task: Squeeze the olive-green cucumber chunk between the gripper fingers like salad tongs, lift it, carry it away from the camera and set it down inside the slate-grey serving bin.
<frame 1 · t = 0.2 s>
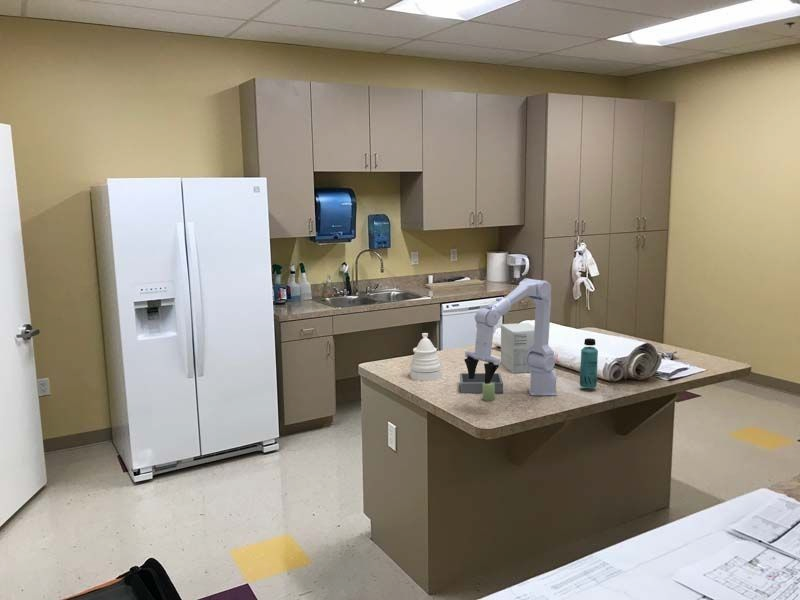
hand: (479, 381, 229), 10 cm above the counter, tool pointing down, fingers open, 7 cm apart
cucumber chunk: (488, 399, 242), on the counter
honey pot: (425, 377, 273), on the counter
supplement box: (520, 368, 284), on the counter
beverage bottle: (588, 390, 251), on the counter
serving bin: (480, 388, 255), on the counter
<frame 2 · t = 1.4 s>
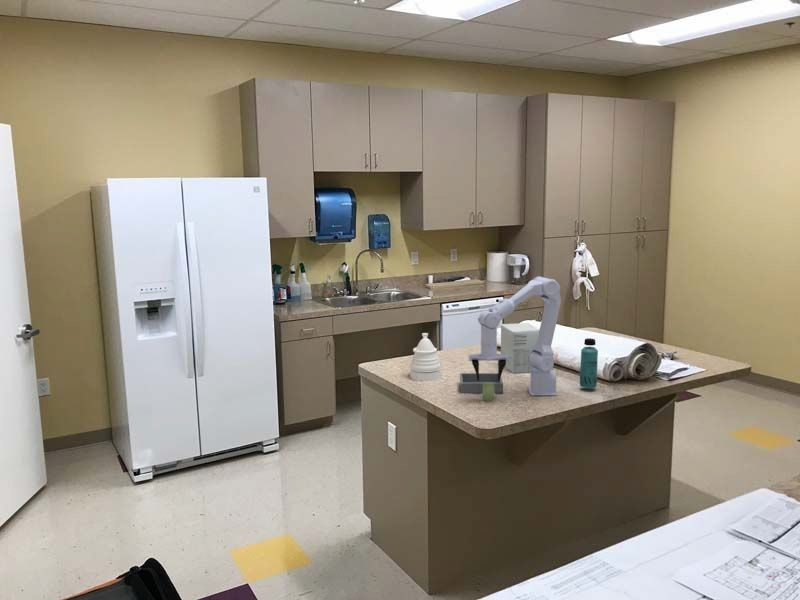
hand: (488, 379, 240), 8 cm above the counter, tool pointing down, fingers open, 7 cm apart
nothing on the counter moved.
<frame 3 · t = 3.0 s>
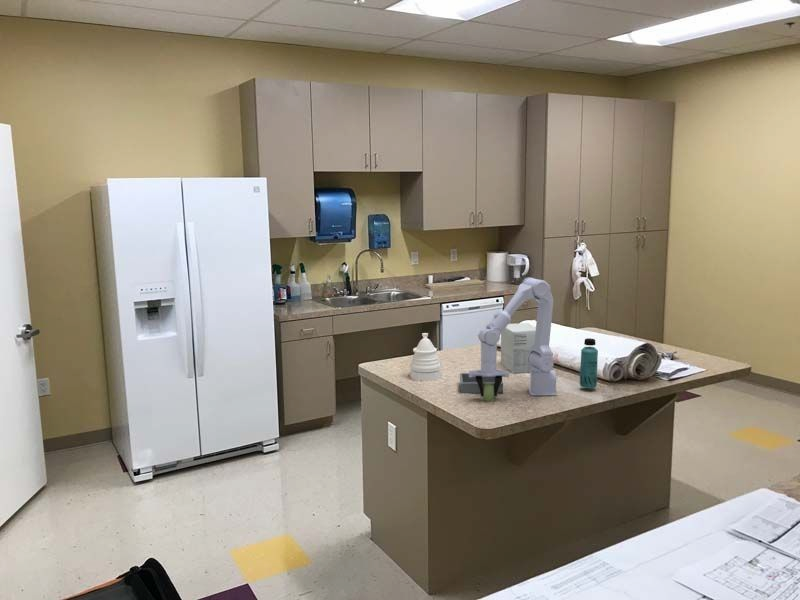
hand: (488, 395, 241), 1 cm above the counter, tool pointing down, fingers closed on cucumber chunk, 4 cm apart
cucumber chunk: (488, 399, 242), on the counter, touching gripper
everything else where it was.
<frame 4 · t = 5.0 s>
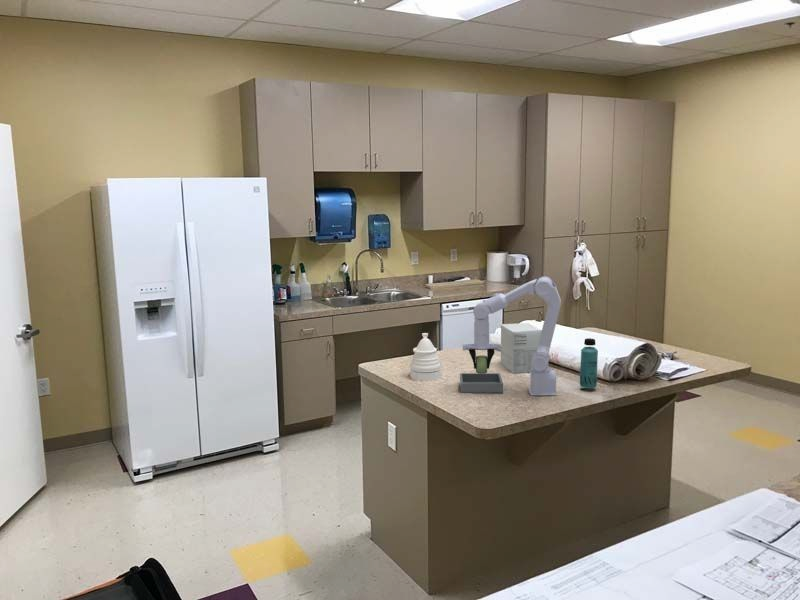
hand: (481, 368, 253), 8 cm above the counter, tool pointing down, fingers closed on cucumber chunk, 4 cm apart
cucumber chunk: (481, 371, 253), point 7 cm above the counter, touching gripper
everything else where it was.
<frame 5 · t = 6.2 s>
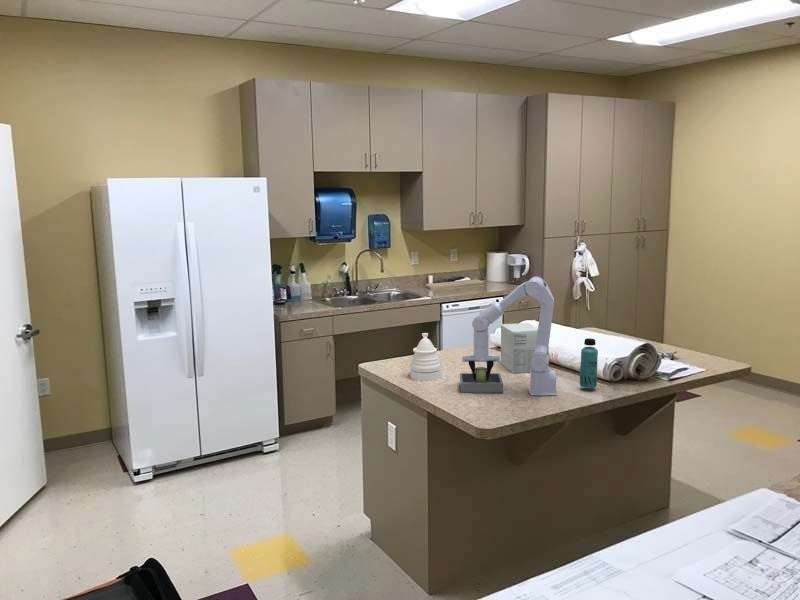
hand: (480, 379, 255), 3 cm above the counter, tool pointing down, fingers closed on cucumber chunk, 4 cm apart
cucumber chunk: (480, 383, 255), point 2 cm above the counter, touching gripper
everything else where it was.
when the fingers open (3 cm above the counter, at t = 6.9 s): cucumber chunk drops 1 cm, resting on serving bin.
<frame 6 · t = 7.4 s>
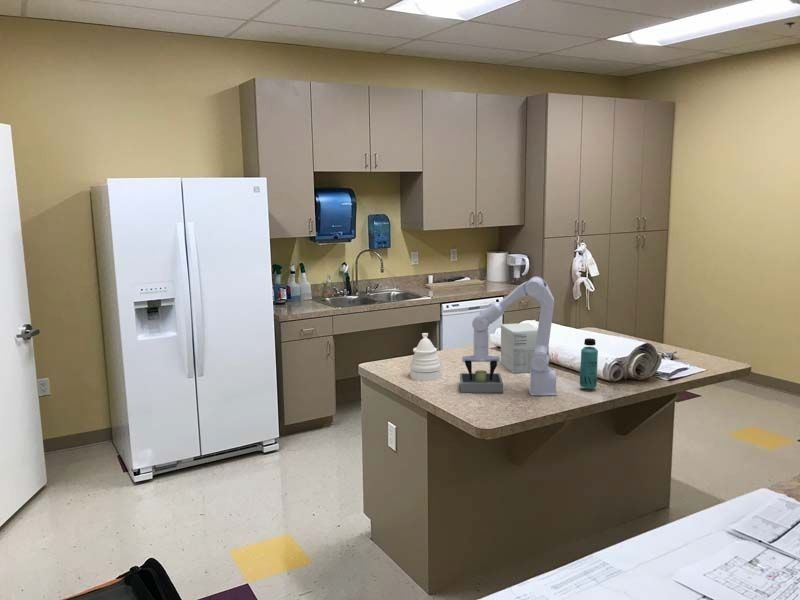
hand: (480, 379, 255), 3 cm above the counter, tool pointing down, fingers open, 7 cm apart
cucumber chunk: (480, 386, 255), point 1 cm above the counter, touching serving bin
everything else where it was.
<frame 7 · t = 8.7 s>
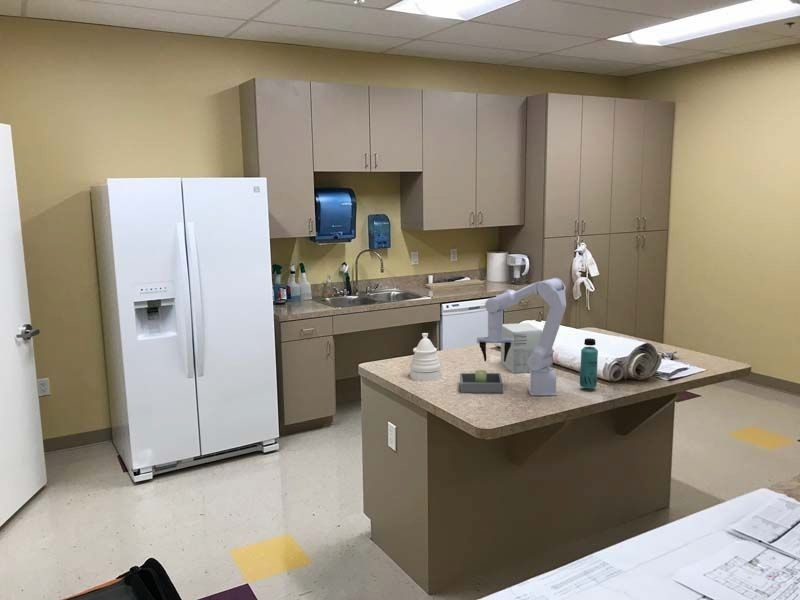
hand: (495, 360, 259), 9 cm above the counter, tool pointing down, fingers open, 7 cm apart
nothing on the counter moved.
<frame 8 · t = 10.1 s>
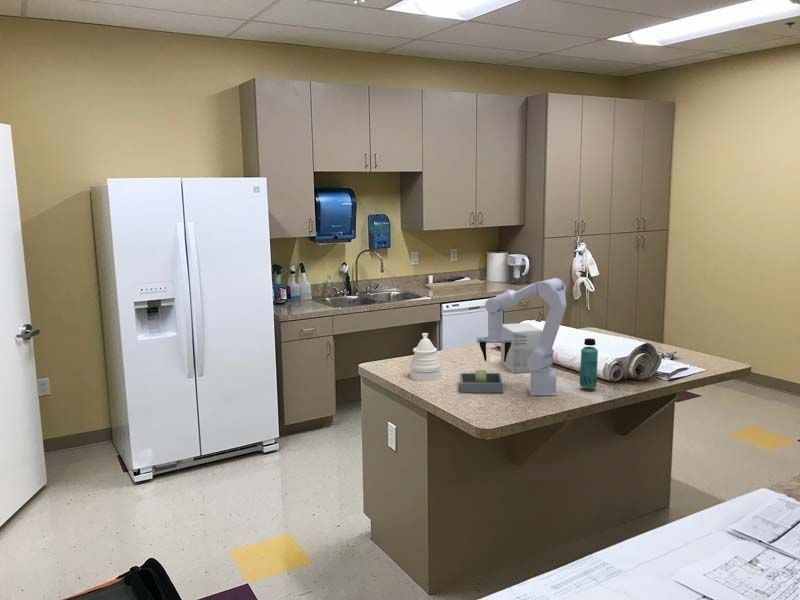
hand: (495, 360, 259), 9 cm above the counter, tool pointing down, fingers open, 7 cm apart
nothing on the counter moved.
at the end: cucumber chunk inside the target area on the serving bin (0.1 cm from its centre), point 0.6 cm above the serving bin's base; cucumber chunk tilted 0°; the gripper is holding nothing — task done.
